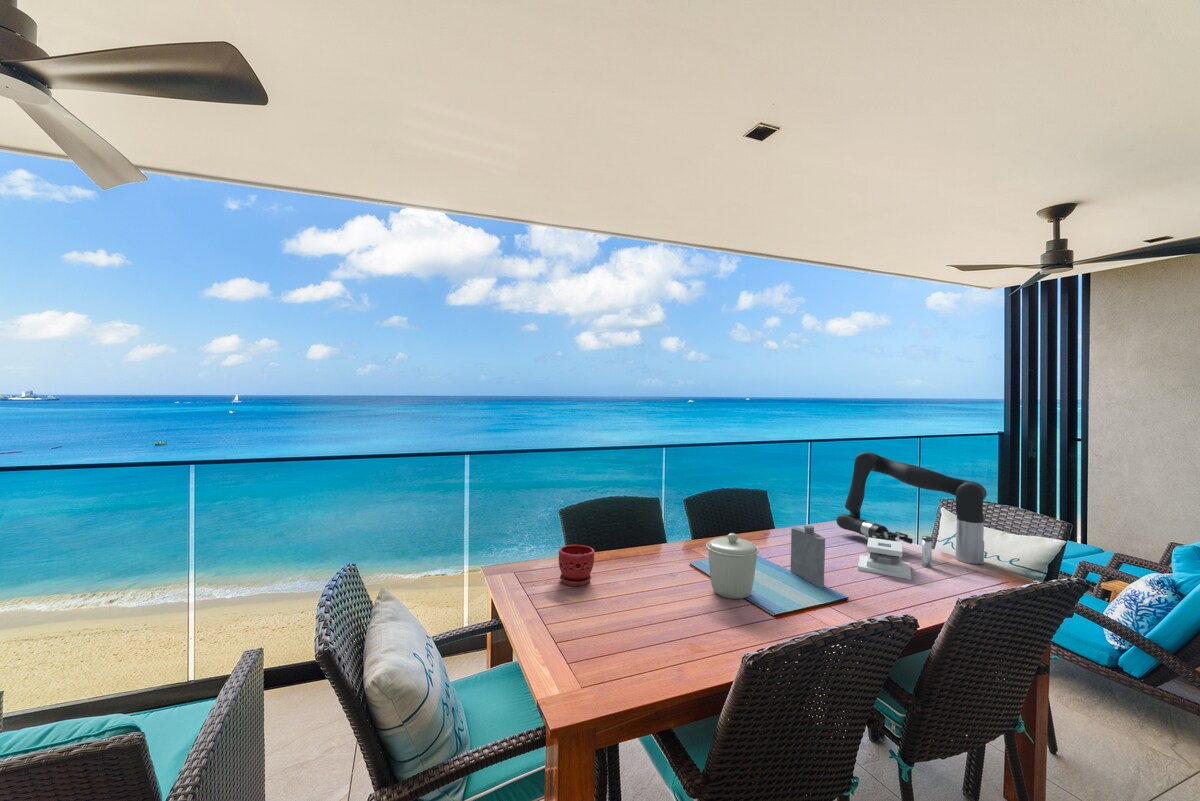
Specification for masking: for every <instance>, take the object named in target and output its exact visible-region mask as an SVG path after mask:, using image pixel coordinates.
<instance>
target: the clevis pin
mask: <svg viewBox="0 0 1200 801" xmlns="http://www.w3.org/2000/svg"><path fill="white" fill-rule="evenodd" d="M921 539H922V552H921V553H922V554H921V567H923V568H927V569H928V568H929V569H930V568H932V553H933V552H932V551H933V539H934V538H933V537H932V536H928V535H922V536H921Z"/></svg>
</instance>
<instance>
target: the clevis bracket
mask: <svg viewBox="0 0 1200 801" xmlns="http://www.w3.org/2000/svg"><path fill="white" fill-rule="evenodd" d="M867 538H868V539H867V546H866V552H867V555H863V554H860V555H859V559H858V562H857V563H858V565H857V571H861V572H867V573H873V574H877V575H883V576H884V575H885V576H889V577H895V578H901V579H905V580H906V579H907V580H912V571H911V569H912V568H911V564H910V562H907V561H903V560H902V558H903V545H902V544H903V543H902V542H903V541H890V540H883V539H876V538H869V537H867Z"/></svg>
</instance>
